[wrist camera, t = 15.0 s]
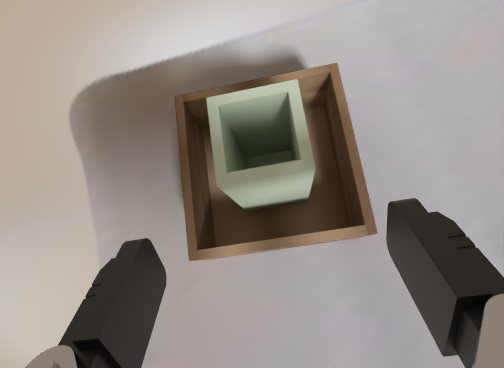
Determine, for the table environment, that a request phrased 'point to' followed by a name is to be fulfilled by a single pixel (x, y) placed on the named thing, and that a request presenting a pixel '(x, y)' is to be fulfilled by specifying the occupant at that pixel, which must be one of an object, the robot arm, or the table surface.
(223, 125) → the green square vase
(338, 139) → the walnut crate
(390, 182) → the table surface
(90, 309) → the robot arm
